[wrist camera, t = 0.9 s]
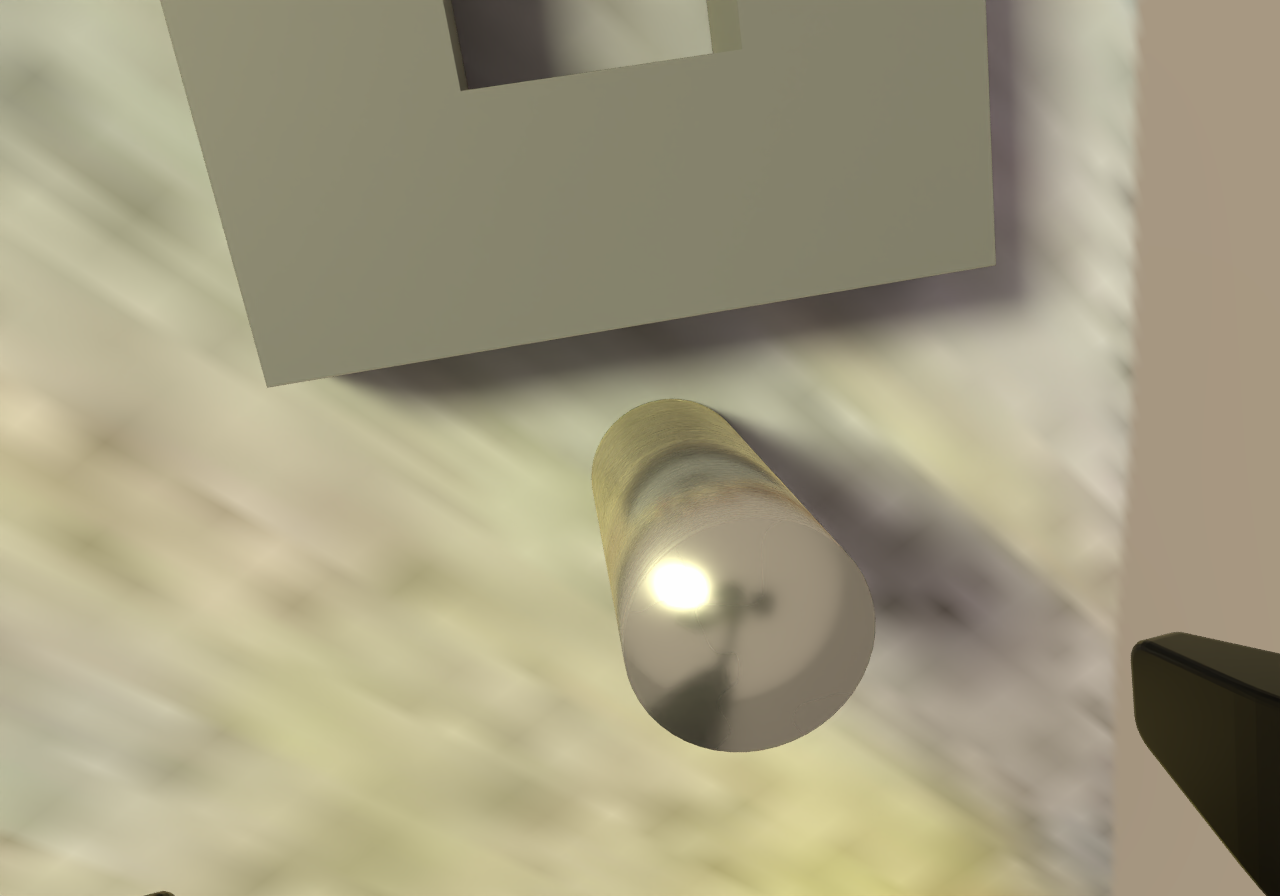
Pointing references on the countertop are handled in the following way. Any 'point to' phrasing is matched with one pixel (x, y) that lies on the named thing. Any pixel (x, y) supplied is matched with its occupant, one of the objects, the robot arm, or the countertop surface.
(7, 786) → the countertop surface
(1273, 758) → the robot arm
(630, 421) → the peg
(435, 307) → the socket board
